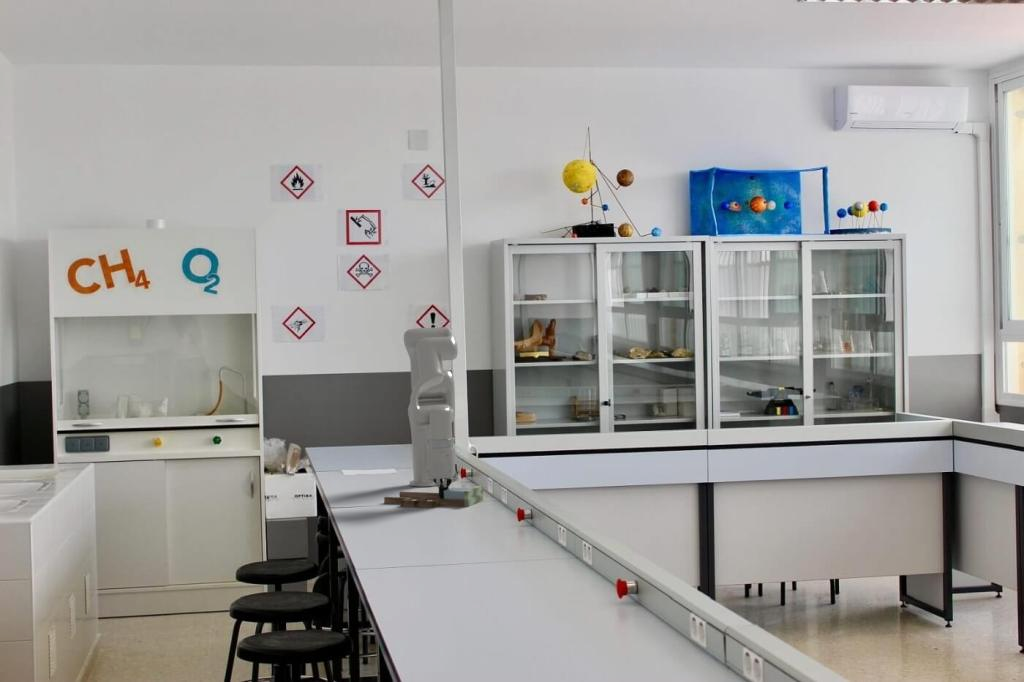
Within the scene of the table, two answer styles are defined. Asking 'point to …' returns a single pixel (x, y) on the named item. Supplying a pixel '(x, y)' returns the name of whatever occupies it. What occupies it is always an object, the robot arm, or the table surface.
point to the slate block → (455, 493)
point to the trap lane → (406, 500)
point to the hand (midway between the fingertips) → (444, 498)
